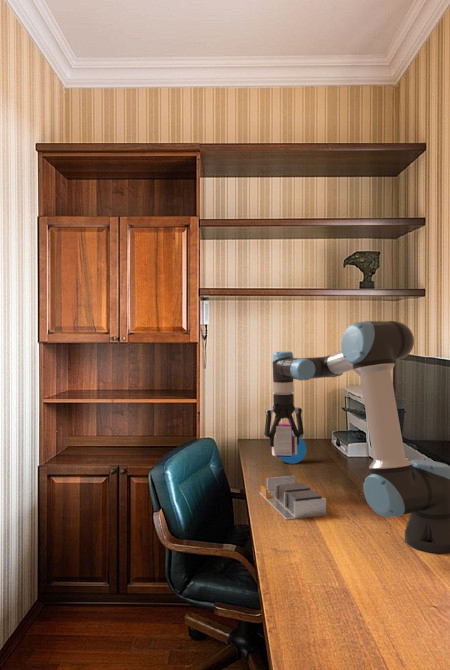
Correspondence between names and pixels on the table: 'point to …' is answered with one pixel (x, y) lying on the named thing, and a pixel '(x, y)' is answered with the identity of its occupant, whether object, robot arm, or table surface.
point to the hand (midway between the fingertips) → (284, 454)
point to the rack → (293, 498)
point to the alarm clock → (300, 452)
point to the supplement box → (284, 440)
